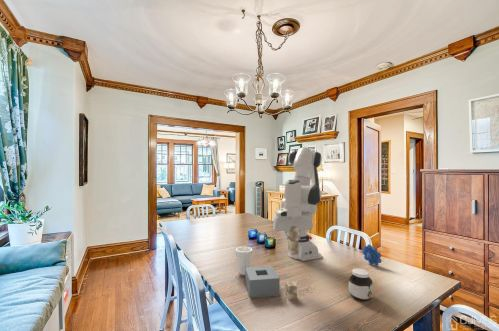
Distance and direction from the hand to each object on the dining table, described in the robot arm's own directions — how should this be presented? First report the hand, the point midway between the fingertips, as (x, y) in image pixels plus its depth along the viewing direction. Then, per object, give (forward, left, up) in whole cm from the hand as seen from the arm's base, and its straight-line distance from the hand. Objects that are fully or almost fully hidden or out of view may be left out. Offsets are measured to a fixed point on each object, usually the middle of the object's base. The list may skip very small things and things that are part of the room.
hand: (293, 238), depth 120 cm
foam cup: (+23, -18, -23) cm, 37 cm away
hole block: (+17, +2, -23) cm, 29 cm away
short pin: (+5, +11, -23) cm, 26 cm away
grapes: (-55, -16, -23) cm, 62 cm away
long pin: (0, 0, -7) cm, 7 cm away
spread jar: (-27, +14, -23) cm, 39 cm away
